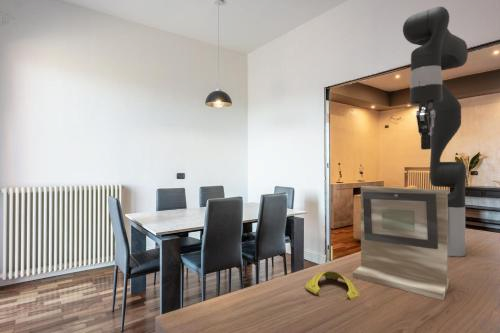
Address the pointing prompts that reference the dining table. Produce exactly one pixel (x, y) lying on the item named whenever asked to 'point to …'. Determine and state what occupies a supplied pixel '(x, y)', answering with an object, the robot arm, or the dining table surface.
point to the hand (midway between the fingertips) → (426, 149)
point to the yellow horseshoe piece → (313, 283)
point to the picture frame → (401, 218)
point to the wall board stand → (408, 255)
